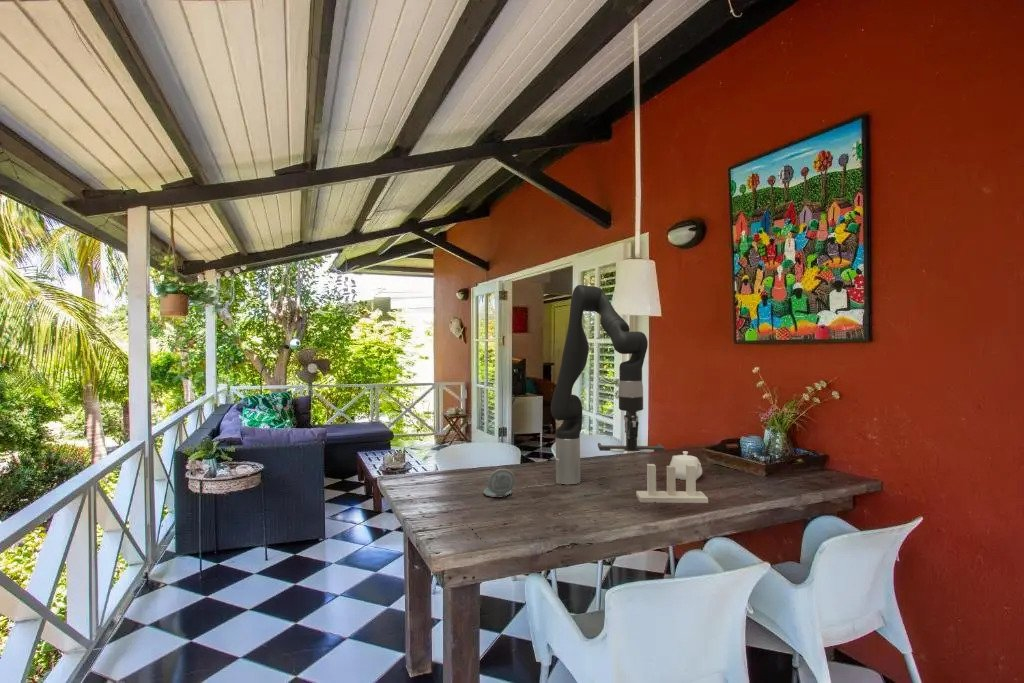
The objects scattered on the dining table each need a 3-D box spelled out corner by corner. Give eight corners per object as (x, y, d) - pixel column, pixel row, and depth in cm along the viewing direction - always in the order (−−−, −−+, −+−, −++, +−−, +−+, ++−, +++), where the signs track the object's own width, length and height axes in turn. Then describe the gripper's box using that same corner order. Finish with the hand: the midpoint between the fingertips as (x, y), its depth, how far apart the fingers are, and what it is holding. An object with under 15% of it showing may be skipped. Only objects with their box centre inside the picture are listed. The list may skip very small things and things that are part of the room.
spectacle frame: (600, 451, 165) (600, 435, 165) (597, 445, 173) (597, 430, 173) (665, 452, 163) (665, 435, 163) (659, 446, 172) (659, 430, 172)
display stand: (640, 502, 175) (639, 467, 175) (636, 495, 183) (635, 462, 183) (708, 502, 174) (707, 468, 174) (701, 495, 182) (700, 462, 182)
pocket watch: (487, 470, 178) (479, 460, 193) (488, 502, 178) (479, 490, 193) (516, 467, 180) (506, 458, 195) (516, 499, 180) (506, 487, 195)
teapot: (715, 483, 197) (715, 456, 197) (685, 485, 194) (685, 458, 194) (687, 470, 217) (686, 445, 217) (659, 472, 214) (658, 447, 214)
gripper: (616, 392, 174) (616, 445, 174) (621, 397, 160) (622, 454, 160) (639, 392, 173) (639, 445, 173) (647, 397, 159) (647, 454, 159)
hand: (631, 449), depth 166 cm, fingers closed on spectacle frame, 3 cm apart
